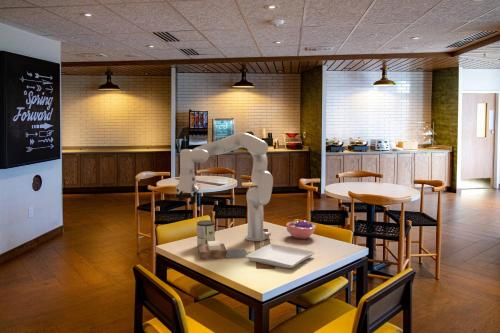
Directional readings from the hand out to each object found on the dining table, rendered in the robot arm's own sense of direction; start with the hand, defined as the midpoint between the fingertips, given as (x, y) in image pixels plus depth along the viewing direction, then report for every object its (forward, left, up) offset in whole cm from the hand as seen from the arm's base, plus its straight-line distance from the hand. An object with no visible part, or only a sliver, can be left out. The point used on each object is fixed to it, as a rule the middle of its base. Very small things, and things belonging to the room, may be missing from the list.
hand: (187, 201), depth 240 cm
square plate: (-47, +29, -27) cm, 61 cm away
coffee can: (-10, -1, -27) cm, 29 cm away
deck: (-12, +16, -26) cm, 33 cm away
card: (-13, +16, -22) cm, 30 cm away
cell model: (-69, -10, -27) cm, 75 cm away
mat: (-26, +16, -26) cm, 40 cm away
